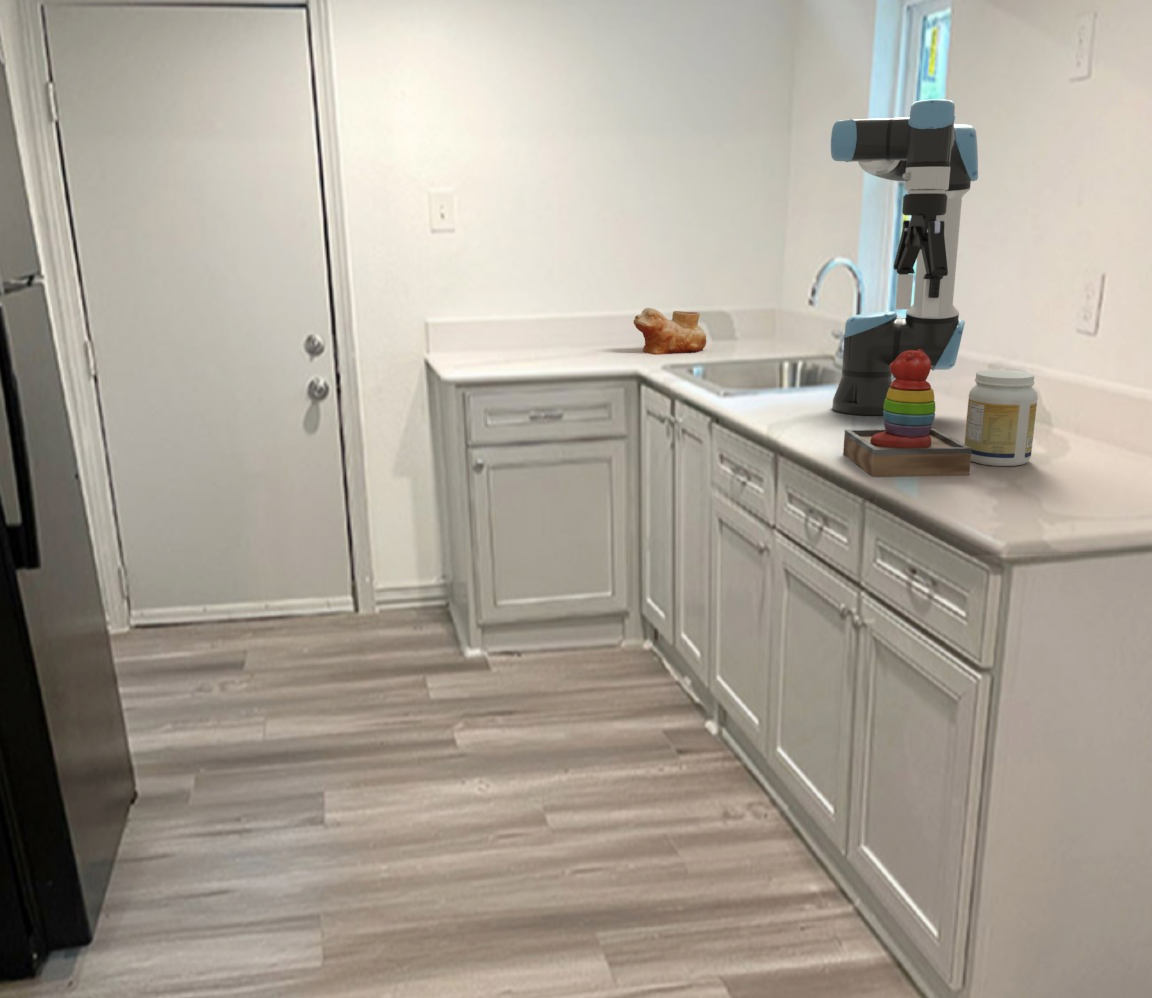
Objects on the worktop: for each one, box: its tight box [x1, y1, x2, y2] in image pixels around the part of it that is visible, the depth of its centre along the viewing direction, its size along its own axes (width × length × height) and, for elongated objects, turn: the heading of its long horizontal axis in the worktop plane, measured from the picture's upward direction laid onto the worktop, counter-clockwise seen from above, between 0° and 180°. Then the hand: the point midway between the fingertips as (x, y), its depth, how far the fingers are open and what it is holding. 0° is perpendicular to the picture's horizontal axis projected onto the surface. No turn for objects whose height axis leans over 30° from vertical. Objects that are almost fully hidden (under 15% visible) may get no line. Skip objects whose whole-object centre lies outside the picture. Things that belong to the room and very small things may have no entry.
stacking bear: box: [870, 349, 936, 448], centre depth 197 cm, size 11×10×18 cm
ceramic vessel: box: [633, 307, 707, 356], centre depth 356 cm, size 14×26×15 cm, turn 108°
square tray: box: [842, 427, 972, 478], centre depth 199 cm, size 18×18×5 cm
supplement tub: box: [963, 369, 1038, 467], centre depth 201 cm, size 12×12×17 cm
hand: (915, 313), depth 193 cm, fingers open, 13 cm apart
